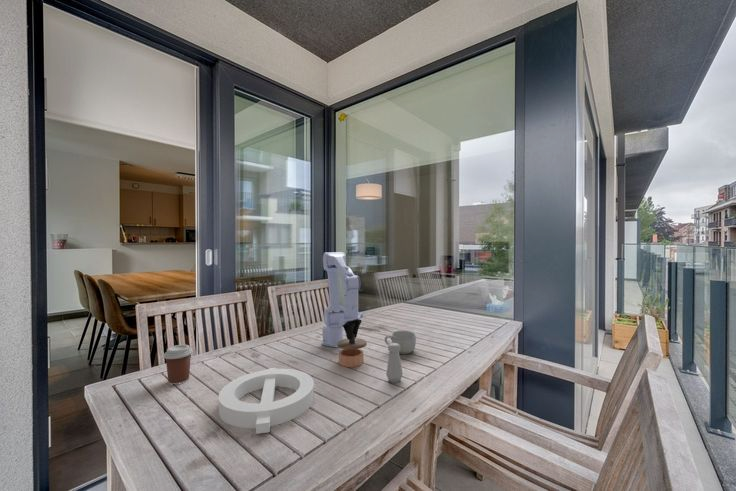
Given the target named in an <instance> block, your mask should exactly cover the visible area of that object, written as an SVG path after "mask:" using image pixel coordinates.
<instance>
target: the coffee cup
mask: <svg viewBox="0 0 736 491" xmlns="http://www.w3.org/2000/svg"><path fill="white" fill-rule="evenodd" d="M193 353H194V351H193V348H191V347H190V345H188V344H176V345H173V346H170V347H168V348H167V349H166V352H164V353H163V359H165V364H166V371H167V381H168V383H169V385H170V384H178V385H180V384H179V383H182V384H184V383H183V382H185V383H187V382H189V380H190V372H191V371H190V369H191V356H192V354H193ZM186 381H187V382H186Z"/></svg>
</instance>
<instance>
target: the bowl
mask: <svg viewBox="0 0 736 491" xmlns="http://www.w3.org/2000/svg"><path fill="white" fill-rule="evenodd" d="M338 364H339V365H340V366H343V367H345V368H353V367H354V368H355V367H359V366H362V365H363V364H364V350H363V349H362V348H359V349H342V348H341V350H339V351H338Z"/></svg>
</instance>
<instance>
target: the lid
mask: <svg viewBox="0 0 736 491" xmlns="http://www.w3.org/2000/svg"><path fill="white" fill-rule="evenodd" d="M367 344H368V342H367V340H365V339H362V338H358V337H356V338H355V334H354V333H353V338H352V340H348V339H347V338H345V339H344V338H343V340H341V341H339V342H338V343H337V345H338V348H339V349H341V350H342V349H363V348H365V347H366V346H367Z"/></svg>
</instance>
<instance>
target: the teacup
mask: <svg viewBox="0 0 736 491" xmlns="http://www.w3.org/2000/svg"><path fill="white" fill-rule="evenodd" d="M388 338H389V339H390V340H391V343H397V344H399V345H400V351H399V355H400V354H401V355H407V354H411V353H412V352H413V351H414V350H415V349H416V344H417V343H416V341H417V339H416V338H417V334H416V333H415V332H414V331H413V332H412V331H410V330H396V331H393V332H392V333H391V334H387V335H386V336H384V342H385V344H386V345H387V346H388V345H389V344H390V342H389V341H388Z"/></svg>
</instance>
